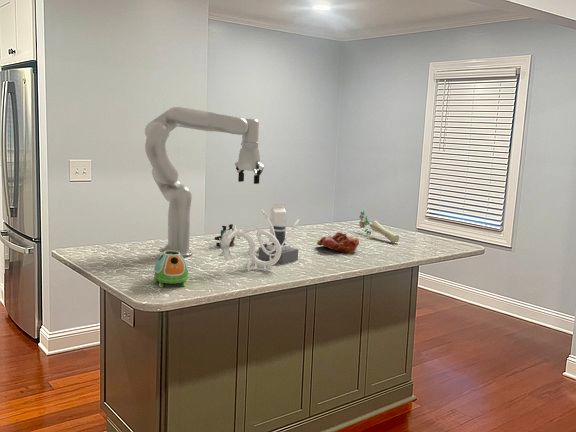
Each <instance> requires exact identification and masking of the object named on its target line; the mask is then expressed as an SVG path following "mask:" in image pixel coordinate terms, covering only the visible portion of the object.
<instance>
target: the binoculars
mask: <svg viewBox="0 0 576 432" xmlns="http://www.w3.org/2000/svg"><path fill="white" fill-rule="evenodd" d="M221 226H222V230H220V235H218V236H217V235H216V236H215V237H214V240H215V241H220V240H221V239H222V238H223V236H222V235H223V234H224V233H226V231H228V230H230V229H232V231H233V230H234V224H232V223H231V224H228V229H227V225H221ZM225 230H226V231H225ZM219 238H220V239H219ZM232 239H233V240H232ZM232 239H231V242H230V244H229V247H234V246H235V243H234V241H235V240H236V236H235V237H233V238H232ZM219 243H220V244H221V242H215V245H216V246H220V244H219Z"/></svg>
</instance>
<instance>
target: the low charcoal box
mask: <svg viewBox="0 0 576 432" xmlns="http://www.w3.org/2000/svg"><path fill="white" fill-rule="evenodd" d="M263 245H264V247H265V249H266V250H268V251H271V250H273V248H274V245H273V242H265V243H263ZM291 246H292V245H291V243H289V242H287V241H285V245H283V246H282V248H281V256H280V258H279V260H278V261H277V262H276V263H275V264H280V265H284V264H289V263H292V261H293V262H296V261H298V260H299V249H298V248H295V247H291ZM275 253H276V247H275V250H274V251H273V252H271V253H269V254H275ZM257 254H258V255H257V256H258V258H257V259H258V260H262V261H263V260H264V261H270V256H269V255H267V254H266V253H265V252H264V251H263V250H262V248H261V246H260V247H258V253H257ZM274 257H275V255H274V256H271V258H272V259H273V258H274ZM288 262H289V263H288Z"/></svg>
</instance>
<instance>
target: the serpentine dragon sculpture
mask: <svg viewBox="0 0 576 432" xmlns="http://www.w3.org/2000/svg"><path fill="white" fill-rule="evenodd" d="M260 209H261V211H262V215H263V218H264V219H265V220H267V221H268V222H269V225H270V224H271V223H270V219H269V215H268V213H267V212H266V211H265V210H264V209H263V208H260ZM299 221H300V218H298V219H297V220H296V221H295V222H294V223H293V224H292V228H291V229H290V231H289V232H288V234H287V236H285V240H284V242H283V244H282V245H281V246H280V243H279V241H278V240H277V239H276V236H275V232H274V229H273V226H272V224H271V226H272V229H273V233H274V236H273V235H272V234H271V233H270V231H267V230H264V229H258V228H250V229H246V230H243V229H241V228H240V229H237V226H236V224H234V225H233V228H232V229H234V230H233V231H232V229H230V230H228V229H226V230H228V231H226V230H225V231H226V233H224V234H223V235H222V236H223V238H222V239H221V240H219V242H218V243H219V244H220V243H221V244H220V245H219V246H220V249H221V250H222V252H221V253H220V254H219V255H218V257H224V261H225V262H228V261H229V260H231V259H232V254H231V250H230V245H229V244H230V242H231V239H232V238H233V237H235V238H237V239H238V240H241V241H243V239H245V240H246V241H247V243H248V249H247V252H246V254H248V257H249V259H248V262H247V265H246V267H247V272H249V271H250V269H251V268H250V267H251V266H252V265H251V264H252V263H253V265H255V268H256V269H257V268H258V267H257V266H259V267H264V270H266V267H267V268H268V267H269V268H270V269H272V266H274V265H275V264H277V263H276V262H277V261H278V260H279V258H280V256H281V248H282V246H283V245H284V243H285V242H287V239H288V237H289V236H290V235H291V232H292V231H293V230H294V229H296V228H297V226H298V223H299ZM256 230H257V231H256ZM253 231H256V237H257V241H258V243H259V245H260V247H261V248H262V250H263V251H264V252H265V253H266V254H267V255H269V256H270V261H267V260H264V261H263V260H261V259H259V258H257V257H256V256H258V253H256V242H255V240H254V238H253V236H251V235H250V234H249V233H252V232H253ZM262 235H263V236H265V237H267V238H268V239H271V240H272V241H273V243H274V244H275V245H274V248H273V250H271V251H268V250H266V249H265V247H264V245H263V244H264V243H263V239H262ZM219 239H220V238H219ZM232 240H233V239H232ZM275 247H276V253H275V254H269V253H271V252H273V251H274V250H275ZM274 255H275V257H274V258H273V259H272V258H271V256H274ZM229 257H230V259H229Z"/></svg>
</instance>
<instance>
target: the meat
mask: <svg viewBox="0 0 576 432" xmlns="http://www.w3.org/2000/svg"><path fill="white" fill-rule="evenodd" d="M359 244H360V239H359V238H357V237H355V238H354V237H353V236H348V235H347V233H346V232H343V231H339V232H336V233H335V234H334V235H328V236H322V237H320V239H318V240H317V242H316V245H318V246H322V247H324V248H329V249H331V250H334V251H336V252H339V253H341V254H342V253H343V254H354V253H355V251H356V250H357V247H358V246H359Z"/></svg>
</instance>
